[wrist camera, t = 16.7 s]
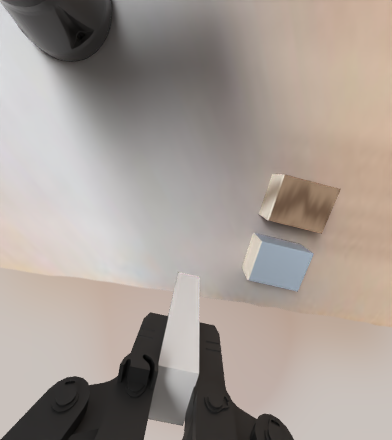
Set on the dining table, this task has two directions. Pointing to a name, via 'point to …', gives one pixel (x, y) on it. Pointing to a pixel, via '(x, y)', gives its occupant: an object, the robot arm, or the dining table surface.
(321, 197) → the walnut block
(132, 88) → the dining table surface
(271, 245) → the slate block
